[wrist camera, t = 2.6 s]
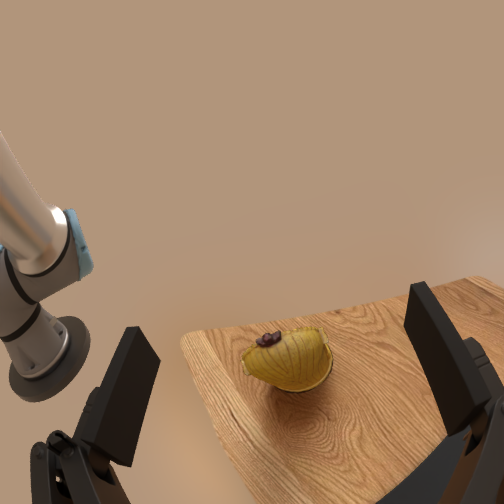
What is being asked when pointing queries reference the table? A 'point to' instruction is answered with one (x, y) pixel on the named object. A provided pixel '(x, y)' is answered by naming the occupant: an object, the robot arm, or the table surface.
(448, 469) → the shoe mat
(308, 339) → the yellow ribbed rounded piece
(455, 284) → the table surface
